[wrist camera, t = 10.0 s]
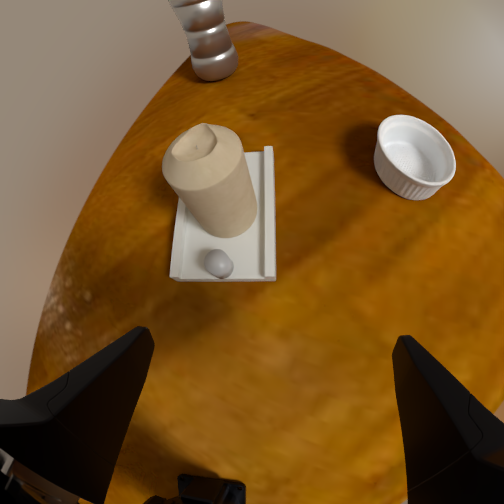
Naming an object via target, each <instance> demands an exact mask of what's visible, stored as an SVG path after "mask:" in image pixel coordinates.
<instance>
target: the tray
mask: <svg viewBox="0 0 504 504" xmlns="http://www.w3.org/2000/svg"><path fill="white" fill-rule="evenodd" d="M244 155H245V159H246V162H247V166H248V170H249V174H250V177H251V181H252V185H253V189H254V192H255V196H256V201H257V215H256V218H255V221H254V222H253V224H252V225H251V227H250V228H249V229H248V230H246V231H245V232H244V233H242V234H241V235H238V236H236V237H232V238H218V237H215V236H213V235H211V234H210V233H208V232H207V231H206V230H205V229H204V228H203V227H202V226H201V225H200V223H199V222H198V221H197V220H196V218H195V217H194V216H193V214H192V213H191V212H190V211H189V209H188V208H187V207H186V205H185V204H184V203H183V201H182V200H181V199H180V198H179V201H178V207H177V215H176V222H175V230H174V238H173V247H172V256H171V266H170V278H172V279H174V280H176V281H197V282H226V281H276V227H275V181H274V155H273V147H272V146H264V151H263V152H249V153H244Z"/></svg>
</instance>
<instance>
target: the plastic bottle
mask: <svg viewBox="0 0 504 504" xmlns="http://www.w3.org/2000/svg"><path fill="white" fill-rule="evenodd" d="M168 1H169V3H170V5H171V7H172V9H173V11H174V12H175V14H176V16H177V17H178V19H179V21H180V23H181V25H182V27H183V30H184V31H185V34H186V37H187V40H188V44H189V48H190V52H191V62H192V67H193V70H194V71H195V73H196V75H197V76H198V77H199V78H201V79H203V80H206V81H216V80H220V79H223V78H226V77H228V76H230V75H231V74H232V73H233V72H234V71H235V70H236V68H237V66H238V54H237V52H236V49H235V47H234V45H233V44H232V42H231V39H230V36H229V33H228V30H227V28H226V24H225V20H224V13H223V5H222V0H168Z"/></svg>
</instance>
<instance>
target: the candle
mask: <svg viewBox="0 0 504 504" xmlns="http://www.w3.org/2000/svg"><path fill="white" fill-rule="evenodd" d="M162 171H163V175H164V177H165V179H166V180H167V182H168V183H169V184H170V186H171V187H172V188H173V190H174V191H175V192H176V194H177V195H178V196H179V198H180V199H181V200H182V201H183V203H184V204H185V205H186V207H187V208H188V209H189V211H190V212H191V213H192V214H193V216H194V217H195V218H196V220H197V221H198V222H199V223H200V225H201V226H202V227H203V228H204V229H205V230H206V231H207V232H208V233H210V234H211V235H213V236H215V237H218V238H232V237H236V236H238V235H241V234H242V233H244V232H245V231H246V230H248V229H249V228H250V227H251V225H252V224H253V222H254V221H255V218H256V215H257V201H256V196H255V192H254V189H253V185H252V181H251V177H250V174H249V170H248V166H247V162H246V159H245V155H244V151H243V148H242V144H241V141H240V139H239V137H238V136H237V135H236V134H235V133H234V132H233V131H232V130H230V129H228V128H226V127H223V126H218V125H210V124H206V123H202V124H199V125H197V126H194V127H193V128H191V129H189V130H187V131H185V132H184V133H182V134H181V135H180V136H178V137H177V138H176V139H175V140H174V141H173V142H172V144H171V145H170V146H169V148H168V149H167V151H166V153H165V155H164V158H163V162H162Z"/></svg>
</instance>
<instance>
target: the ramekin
mask: <svg viewBox="0 0 504 504" xmlns="http://www.w3.org/2000/svg"><path fill="white" fill-rule="evenodd" d="M374 165H375V169H376V171H377V174H378V175H379V177H380V179H381V180H382V182H383V183H384V184H385V185H386V186H387V187H388V188H389V189H391V190H392V191H393V192H395V193H396V194H398V195H400V196H402V197H404V198H406V199H410V200H423V199H426V198H429V197H430V196H432V195H433V194H434V193H435V192H436V191H437V190H438V189H439V188H440V187H441V186H443V185H445V184H446V183H448V182H449V181H450V180H451V179H452V178H453V176H454V173H455V169H456V162H455V157H454V154H453V151H452V149H451V147H450V145H449V144H448V142H447V141H446V139H445V138H444V137H443V136H442V135H441V134H440V133H439V132H438V131H437V130H436V129H435V128H433V127H432V126H431V125H429V124H428V123H426V122H424V121H422V120H420V119H418V118H415V117H412V116H408V115H394V116H390V117H388V118H386V119H385V120H383V121H382V123H381V124H380V126H379V128H378V133H377V144H376V148H375V153H374Z"/></svg>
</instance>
